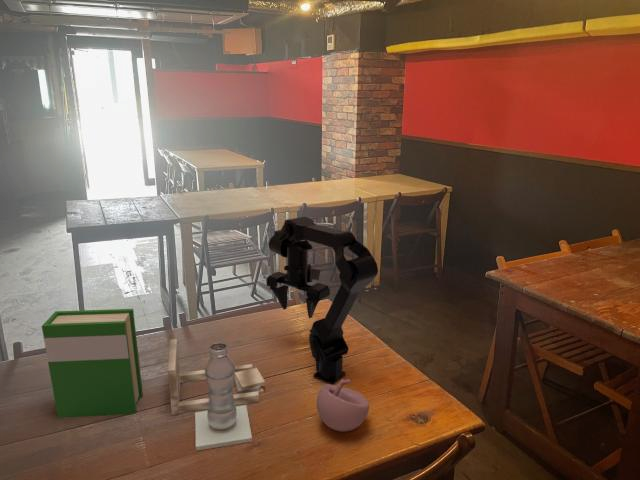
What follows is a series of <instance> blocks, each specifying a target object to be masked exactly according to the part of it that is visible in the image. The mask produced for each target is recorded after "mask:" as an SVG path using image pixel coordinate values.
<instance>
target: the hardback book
mask: <svg viewBox="0 0 640 480" xmlns="http://www.w3.org/2000/svg"><path fill="white" fill-rule="evenodd" d="M136 329H137V328H136V321H135V312H134V308H117V309H116V308H114V309H111V308H110V309H89V310H87V309H85V310H81V309H80V310H58V311H57V310H56V311H54V313H52V315H51V316H49V317H48V319H47V320H46V321H45V322H43V324H42V325H41V331H42V336H43V342H44V347H45V352H46V359H47V364H48V370H49V375H50V380H51V387H52V391H53V397H54V403H55V409H56V413H57V419H63V418H66V419H67V418H81V417H82V418H84V417H85V418H86V417H102V416H103V417H104V416H121V415H136V414H137V402H138V398H139V399H140V398H143V397H144V393H143V383H142V374H141V367H140V366H141V365H140V358H139V357H140V355H139V347H138V340H137V339H138V338H137V331H136Z"/></svg>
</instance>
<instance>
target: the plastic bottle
mask: <svg viewBox="0 0 640 480" xmlns="http://www.w3.org/2000/svg"><path fill="white" fill-rule="evenodd" d="M228 355H229V351H228V345H227V344H226V343H223V342H215V343H211V345H210V346H209V356H210V358H209V359H207V362H206V363H205V366H204V370H205V375H206V383H207V391H208V398H209V407H208V409H207V411H208V412H207V419H208V422H209V424H210V426H211V427H213V428H214V429H217V430H225V429H228V428H230V427H231V426H233V424H234V423H235V422H236V418H237V410H236V406H237V405H235V402H234V395H235V394H234V383H235V379H234V374H235V366H236V365H235V362H234V361H233V359H232V358H231V357H230V356H228Z"/></svg>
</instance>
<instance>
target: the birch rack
mask: <svg viewBox="0 0 640 480" xmlns="http://www.w3.org/2000/svg"><path fill="white" fill-rule="evenodd" d="M177 339H178V338H172V339H170V341H169V351H168V353H169V354H168V363H167V364H168V366H167V375H168V377H167V378H168V386H169V388H168V389H169V396H170V397H169V398H170V409H171V415H172V416H173V415H179V414H185V413H191V412H192V413H193V412H200V411H207V410H208V407H209V397H208V398H200V399H192V400H186V401H180V396H181V394H180V392H181V384H182V383H190V382H196V381H197V382H198V381H207V379H206V375H205V369H200V370H194V371H193V370H191V371H186V372H185V371H184V372H181V371H180V363H179V361H180V360H179V352H178V351H179V349H178V340H177ZM252 368H254V367H253V363H249V364H241V365H235V372H240V371H244V370H248V369H252ZM234 375H235V374H234ZM234 402H235V406H242V405H246V404H247V405H248V404H253V403H259V402H260V393H258V391H257V392H249V393H242V394H238V393H236V394H234Z"/></svg>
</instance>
